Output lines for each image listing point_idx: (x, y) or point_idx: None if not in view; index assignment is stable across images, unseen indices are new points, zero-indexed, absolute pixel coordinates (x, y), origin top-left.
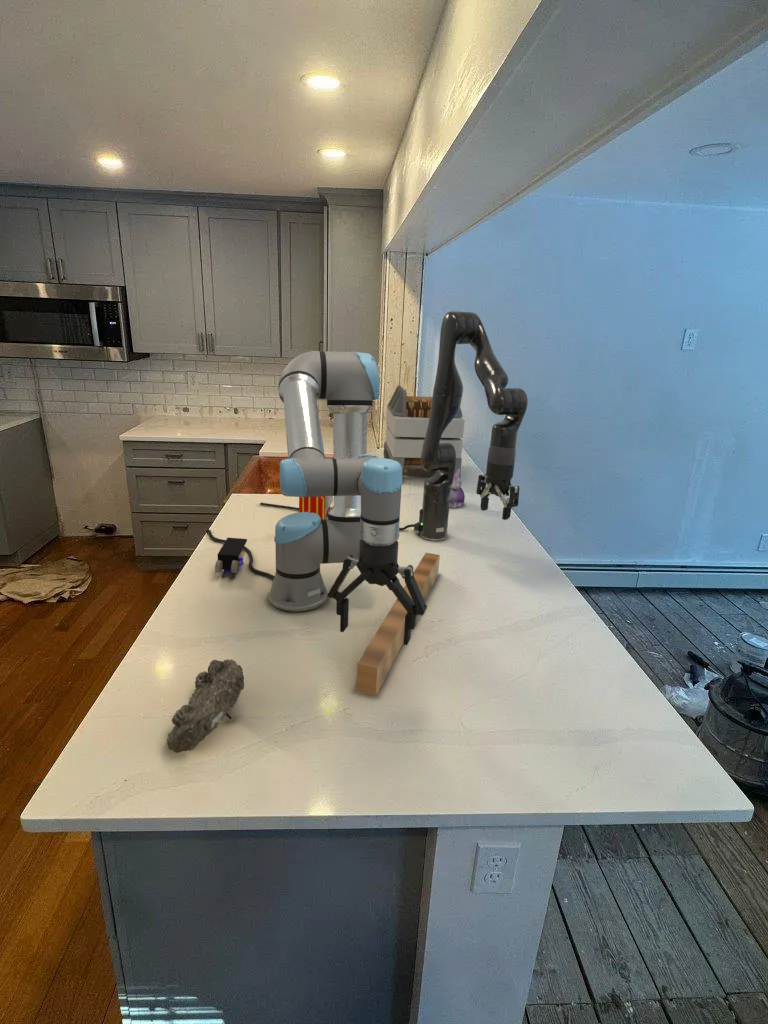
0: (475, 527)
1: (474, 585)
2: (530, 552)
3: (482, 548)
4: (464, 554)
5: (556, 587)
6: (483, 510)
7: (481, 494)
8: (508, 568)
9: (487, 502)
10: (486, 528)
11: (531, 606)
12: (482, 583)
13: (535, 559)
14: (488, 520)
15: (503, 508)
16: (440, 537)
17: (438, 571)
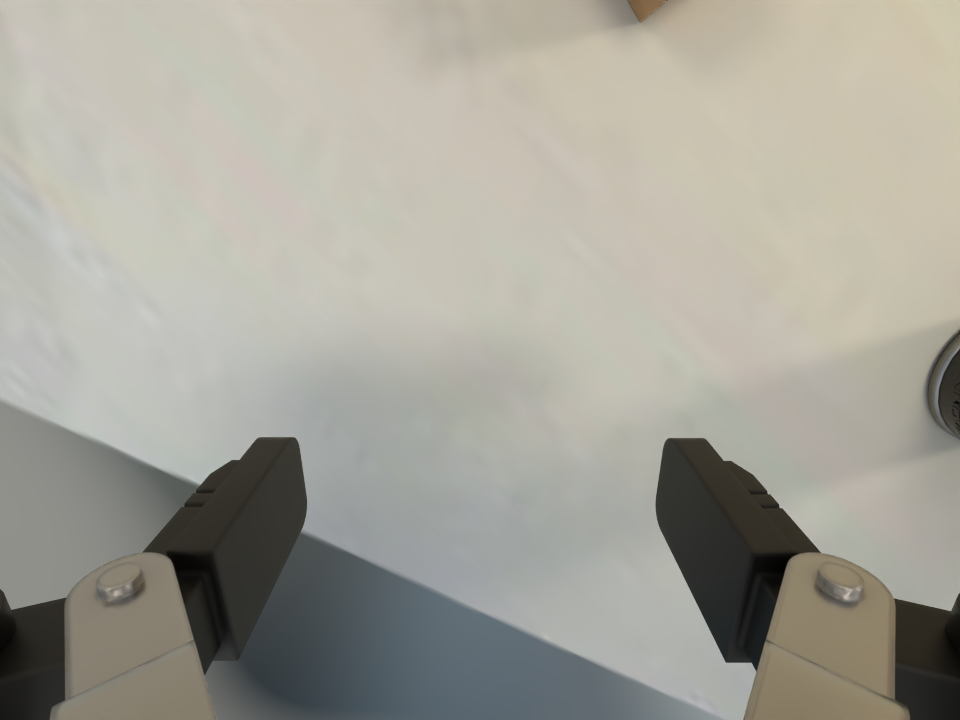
0: None
1: (430, 133)
2: (553, 614)
3: None
4: (731, 358)
5: None
6: (664, 450)
7: (877, 612)
8: (487, 428)
9: (697, 578)
10: None
11: (125, 231)
12: (427, 193)
13: (491, 584)
14: None
15: (217, 537)
16: (953, 370)
17: (647, 14)
